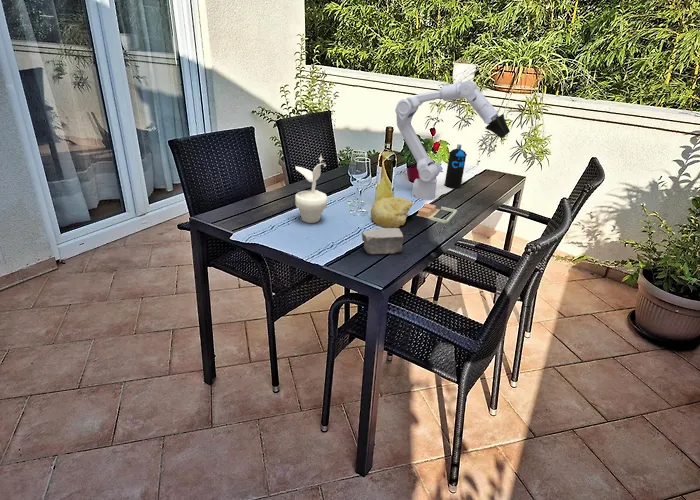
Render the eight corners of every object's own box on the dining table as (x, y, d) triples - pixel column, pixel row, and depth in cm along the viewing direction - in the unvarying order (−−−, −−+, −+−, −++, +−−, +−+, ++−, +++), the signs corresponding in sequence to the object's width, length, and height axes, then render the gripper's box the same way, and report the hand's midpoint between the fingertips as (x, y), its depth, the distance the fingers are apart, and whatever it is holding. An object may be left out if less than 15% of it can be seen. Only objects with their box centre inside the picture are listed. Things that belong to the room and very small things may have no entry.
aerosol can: (440, 183, 220) (447, 142, 211) (455, 183, 222) (462, 142, 214) (449, 189, 213) (455, 146, 204) (464, 188, 215) (471, 146, 207)
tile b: (417, 215, 176) (418, 210, 175) (421, 212, 179) (421, 207, 178) (427, 217, 175) (428, 212, 174) (430, 214, 178) (431, 209, 177)
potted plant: (332, 219, 171) (335, 153, 160) (314, 228, 162) (316, 160, 151) (305, 211, 177) (305, 147, 166) (286, 220, 168) (286, 153, 157)
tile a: (422, 211, 181) (423, 206, 180) (425, 208, 184) (426, 203, 183) (432, 213, 179) (432, 208, 178) (435, 210, 182) (436, 205, 181)
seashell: (363, 226, 174) (383, 233, 160) (362, 198, 171) (382, 202, 158) (401, 221, 180) (422, 227, 167) (400, 193, 178) (422, 198, 165)
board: (415, 218, 177) (416, 215, 176) (425, 209, 186) (426, 206, 186) (430, 222, 174) (430, 218, 174) (439, 213, 184) (440, 209, 183)
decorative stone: (410, 252, 150) (390, 240, 157) (412, 233, 147) (392, 222, 154) (375, 262, 142) (356, 249, 149) (377, 243, 139) (358, 230, 146)
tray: (429, 223, 173) (430, 217, 172) (440, 212, 185) (441, 206, 184) (445, 227, 171) (446, 220, 170) (456, 215, 182) (457, 210, 181)
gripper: (487, 101, 164) (511, 131, 163) (495, 98, 175) (517, 125, 175) (472, 115, 168) (495, 143, 168) (481, 110, 179) (502, 137, 179)
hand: (505, 135), depth 172 cm, fingers open, 7 cm apart
